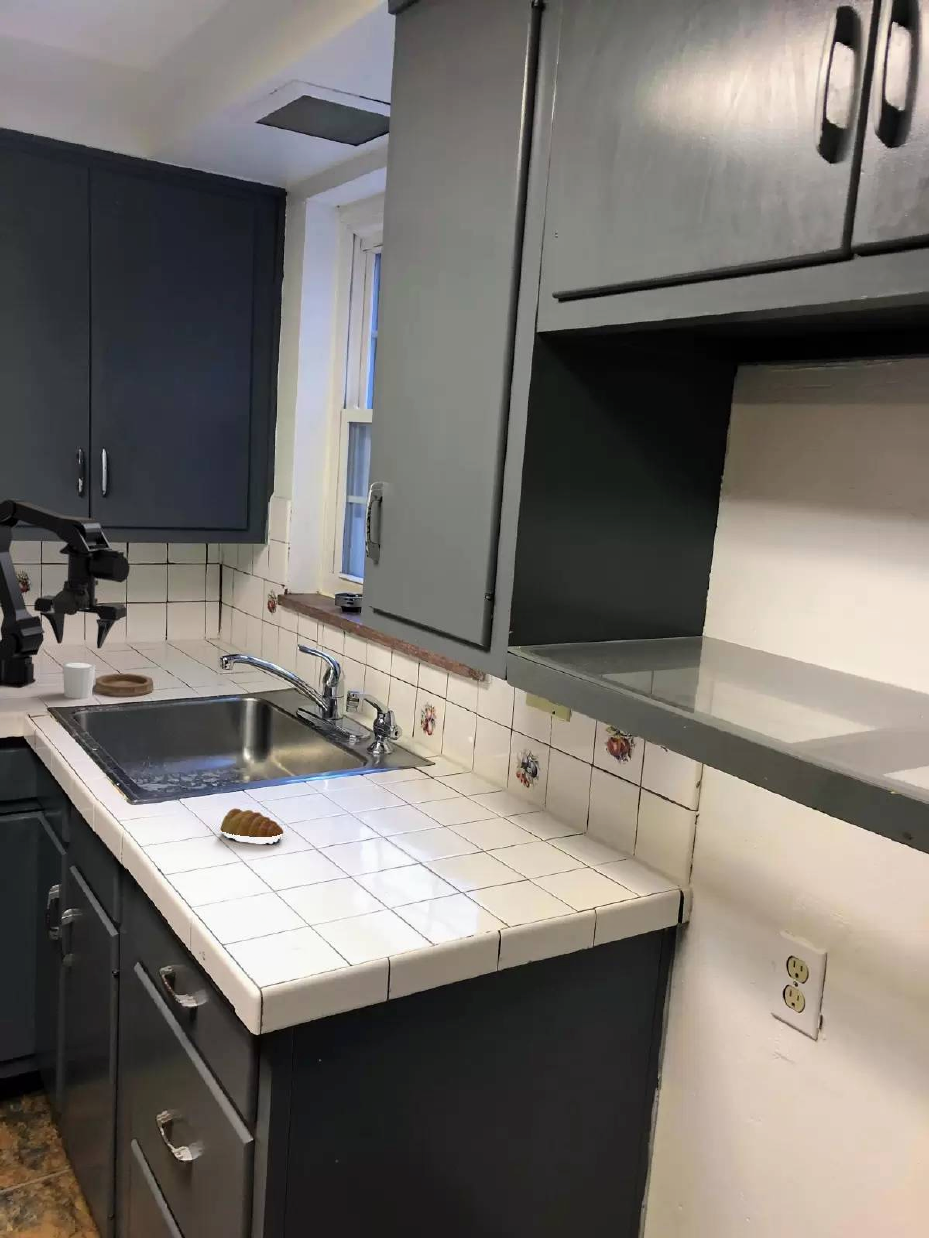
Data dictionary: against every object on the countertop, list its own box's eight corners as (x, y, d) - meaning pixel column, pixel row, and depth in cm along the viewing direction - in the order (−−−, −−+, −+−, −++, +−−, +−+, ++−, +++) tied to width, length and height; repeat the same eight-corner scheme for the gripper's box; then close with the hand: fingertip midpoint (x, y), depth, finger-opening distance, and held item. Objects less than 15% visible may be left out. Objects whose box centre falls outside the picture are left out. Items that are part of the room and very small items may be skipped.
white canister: (100, 693, 222) (100, 663, 221) (85, 700, 215) (86, 669, 214) (71, 690, 223) (71, 660, 222) (55, 697, 216) (56, 666, 215)
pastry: (290, 836, 154) (292, 813, 153) (269, 852, 147) (270, 828, 147) (237, 824, 156) (239, 801, 156) (214, 839, 150) (215, 815, 149)
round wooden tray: (83, 692, 222) (83, 683, 221) (110, 680, 234) (110, 671, 234) (138, 699, 220) (138, 689, 220) (162, 686, 233) (163, 677, 233)
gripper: (20, 575, 208) (19, 647, 210) (105, 585, 206) (102, 658, 209) (48, 570, 219) (46, 638, 221) (128, 579, 217) (125, 648, 219)
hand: (79, 645), depth 217 cm, fingers open, 9 cm apart
